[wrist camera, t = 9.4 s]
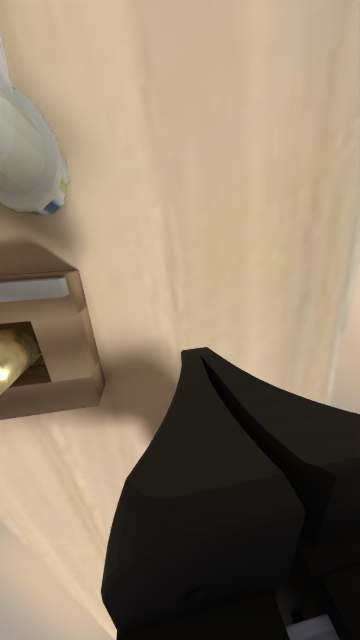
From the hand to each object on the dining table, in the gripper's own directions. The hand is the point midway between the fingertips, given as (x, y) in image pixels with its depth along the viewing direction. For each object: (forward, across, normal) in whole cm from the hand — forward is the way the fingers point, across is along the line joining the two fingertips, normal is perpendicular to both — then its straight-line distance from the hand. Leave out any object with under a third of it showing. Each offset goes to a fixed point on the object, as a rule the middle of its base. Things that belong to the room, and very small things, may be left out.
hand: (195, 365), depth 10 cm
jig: (+10, +14, +2) cm, 17 cm away
